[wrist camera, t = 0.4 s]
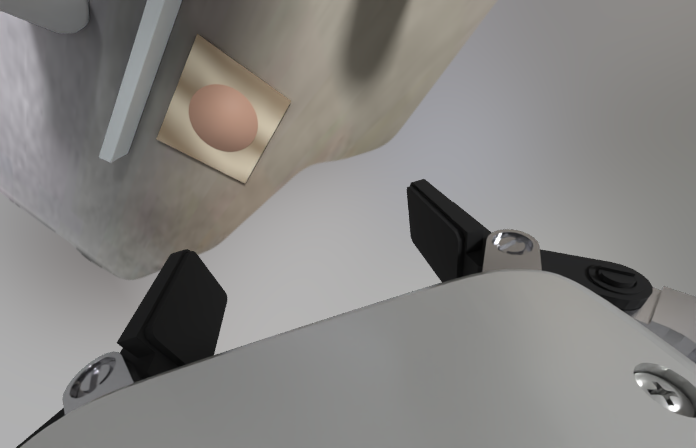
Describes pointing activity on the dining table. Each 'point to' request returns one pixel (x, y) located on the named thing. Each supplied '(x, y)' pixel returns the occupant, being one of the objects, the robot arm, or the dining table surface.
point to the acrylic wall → (139, 76)
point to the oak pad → (221, 112)
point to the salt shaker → (50, 13)
